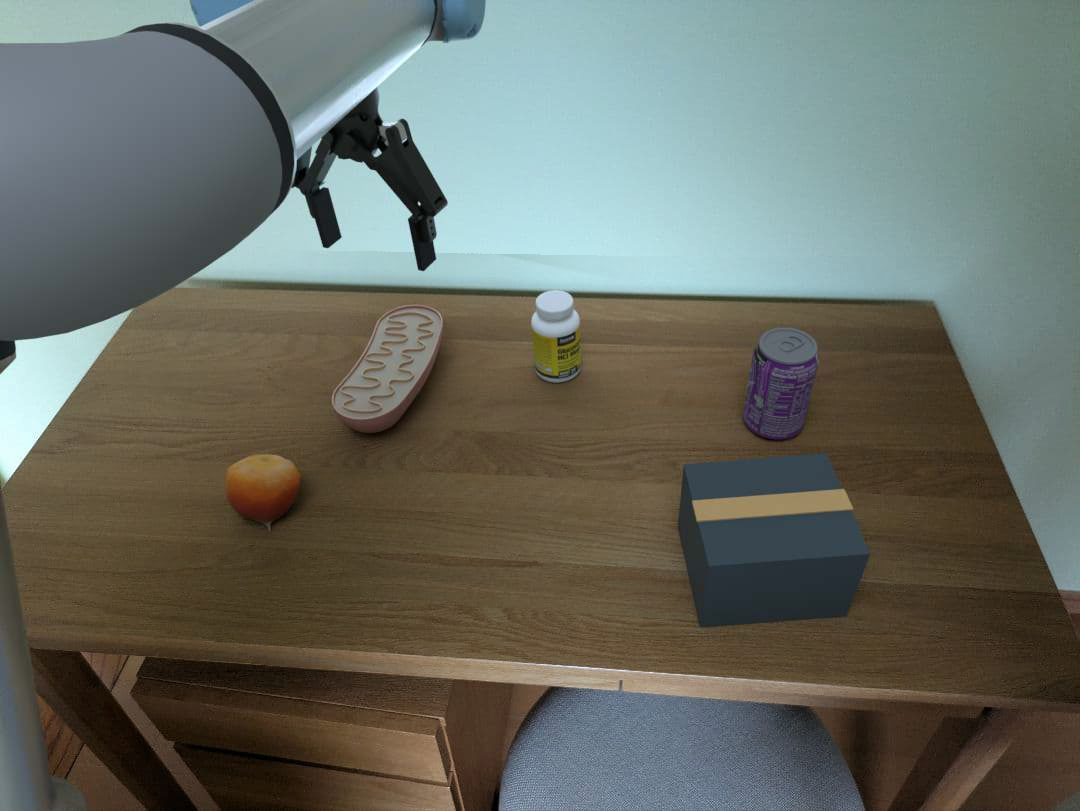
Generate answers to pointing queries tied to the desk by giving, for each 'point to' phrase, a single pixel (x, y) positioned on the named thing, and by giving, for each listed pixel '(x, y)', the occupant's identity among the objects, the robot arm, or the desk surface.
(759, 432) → the beverage can
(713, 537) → the dark blue box
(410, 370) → the anatomical model
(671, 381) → the desk surface
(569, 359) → the pill bottle
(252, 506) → the fruit
